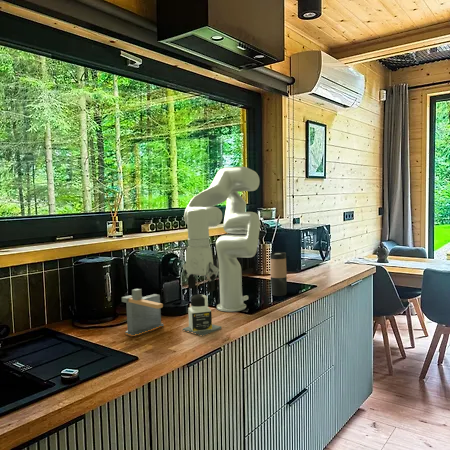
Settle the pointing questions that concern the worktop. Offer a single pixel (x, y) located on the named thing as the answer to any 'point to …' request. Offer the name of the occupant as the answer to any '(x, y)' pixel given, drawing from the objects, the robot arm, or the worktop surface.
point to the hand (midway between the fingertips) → (201, 289)
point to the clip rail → (143, 316)
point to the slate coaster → (214, 328)
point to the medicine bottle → (199, 314)
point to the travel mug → (278, 273)
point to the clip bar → (140, 299)
